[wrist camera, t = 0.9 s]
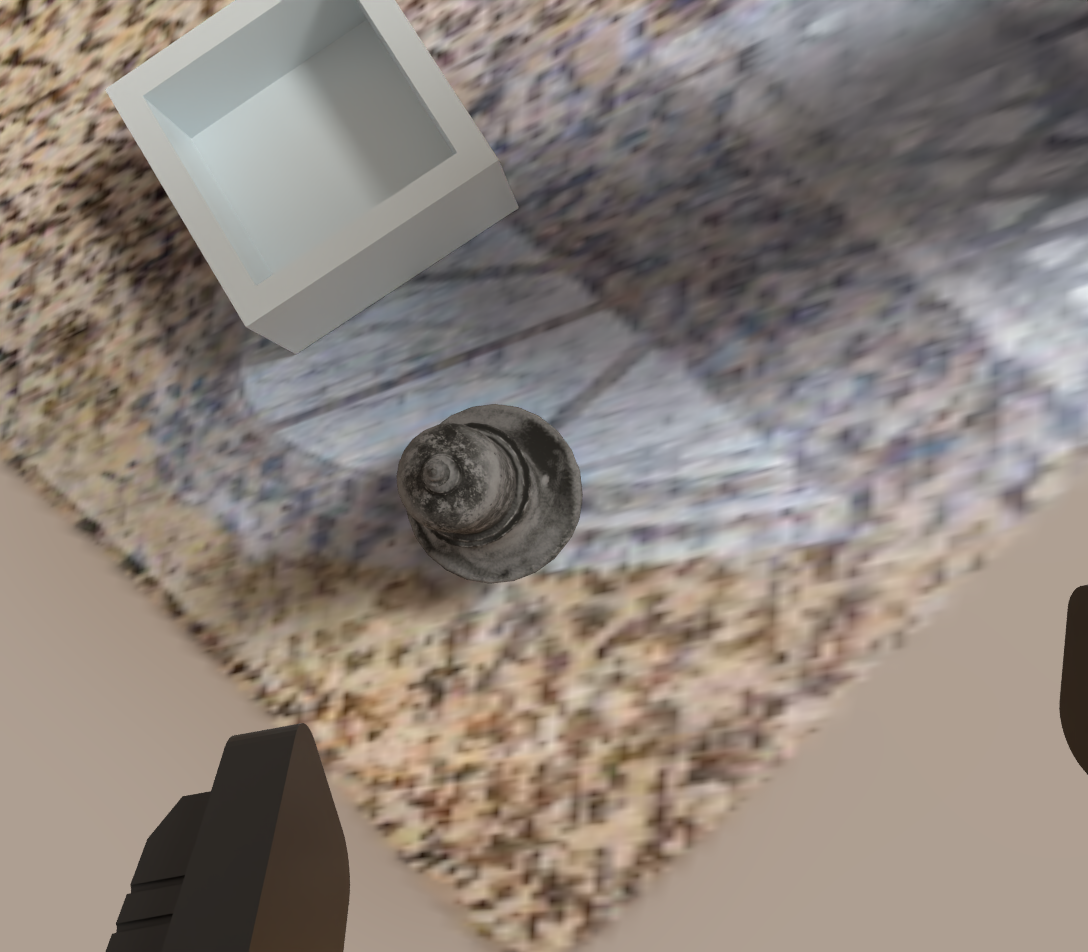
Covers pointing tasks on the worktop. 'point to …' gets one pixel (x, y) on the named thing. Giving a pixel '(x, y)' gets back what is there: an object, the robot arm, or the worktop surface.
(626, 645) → the worktop surface
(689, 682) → the worktop surface
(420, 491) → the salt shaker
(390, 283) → the sleeve
